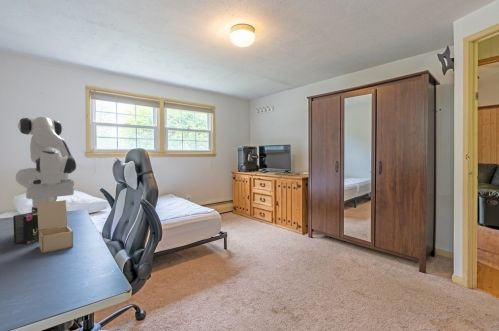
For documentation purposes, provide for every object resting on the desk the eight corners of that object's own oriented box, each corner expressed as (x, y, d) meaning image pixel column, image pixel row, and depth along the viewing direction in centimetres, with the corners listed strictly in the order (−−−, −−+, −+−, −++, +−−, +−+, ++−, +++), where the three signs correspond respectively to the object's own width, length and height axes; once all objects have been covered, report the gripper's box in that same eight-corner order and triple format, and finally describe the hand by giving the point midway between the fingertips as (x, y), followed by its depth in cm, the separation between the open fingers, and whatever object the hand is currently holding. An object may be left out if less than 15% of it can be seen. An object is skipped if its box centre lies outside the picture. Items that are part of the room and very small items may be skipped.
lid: (38, 230, 124) (38, 230, 125) (67, 225, 133) (67, 225, 133) (37, 202, 126) (37, 203, 127) (65, 200, 135) (65, 200, 136)
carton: (39, 246, 124) (38, 230, 124) (67, 240, 133) (67, 226, 132) (42, 253, 114) (41, 236, 114) (73, 246, 123) (72, 231, 123)
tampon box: (27, 244, 127) (26, 216, 126) (13, 243, 129) (12, 215, 128) (48, 237, 138) (47, 212, 137) (35, 236, 139) (34, 211, 139)
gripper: (72, 178, 142) (73, 202, 142) (25, 180, 127) (26, 207, 128) (75, 179, 138) (75, 203, 138) (26, 181, 123) (26, 208, 123)
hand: (51, 205), depth 133 cm, fingers closed
